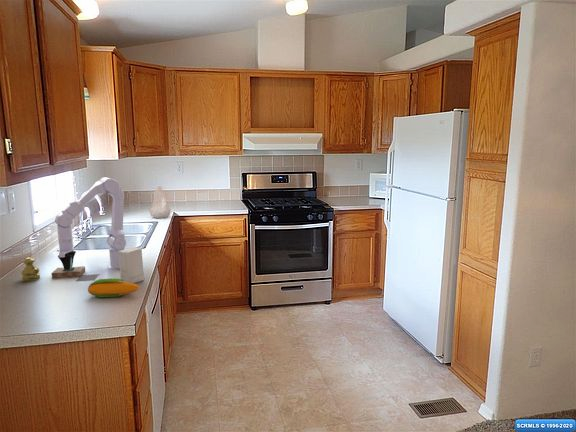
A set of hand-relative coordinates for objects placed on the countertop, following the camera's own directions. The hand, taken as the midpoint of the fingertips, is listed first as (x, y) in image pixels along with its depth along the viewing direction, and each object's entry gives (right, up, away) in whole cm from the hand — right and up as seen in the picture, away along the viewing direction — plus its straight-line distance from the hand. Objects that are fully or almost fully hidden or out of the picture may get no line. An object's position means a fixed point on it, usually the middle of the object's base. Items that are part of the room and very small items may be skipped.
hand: (68, 268), depth 197 cm
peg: (0, -3, +1) cm, 3 cm away
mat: (+10, -4, -3) cm, 12 cm away
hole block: (0, -4, +1) cm, 4 cm away
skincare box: (+32, -5, -7) cm, 33 cm away
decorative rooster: (+1, +22, +140) cm, 142 cm away
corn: (+31, -8, -24) cm, 40 cm away
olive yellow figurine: (-15, -5, -4) cm, 16 cm away
